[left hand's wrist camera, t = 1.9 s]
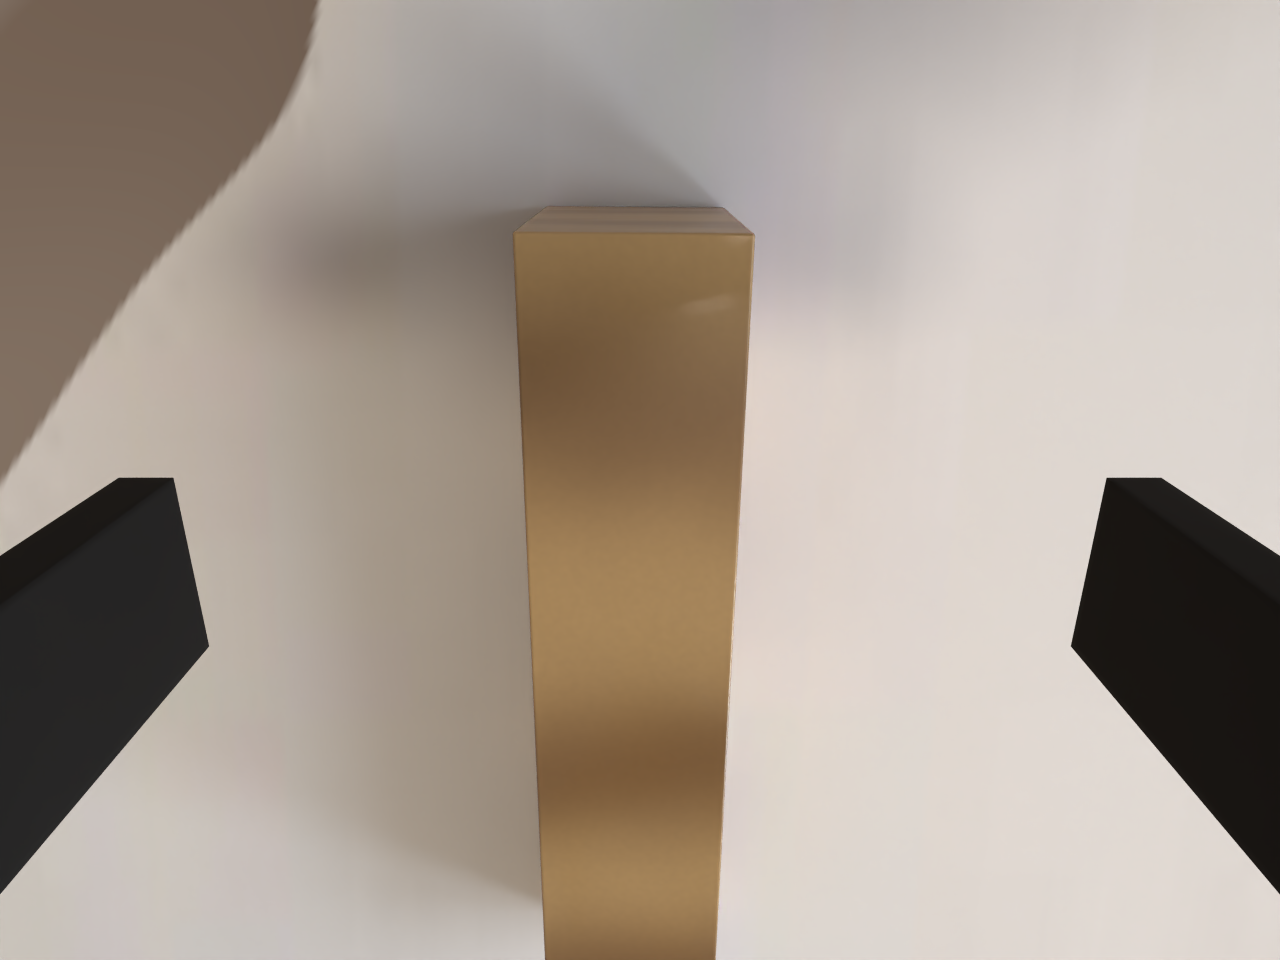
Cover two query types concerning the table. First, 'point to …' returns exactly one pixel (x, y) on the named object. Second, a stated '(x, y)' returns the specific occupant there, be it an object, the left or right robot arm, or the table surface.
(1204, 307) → the table surface
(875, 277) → the table surface
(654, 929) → the bar
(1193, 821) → the table surface
